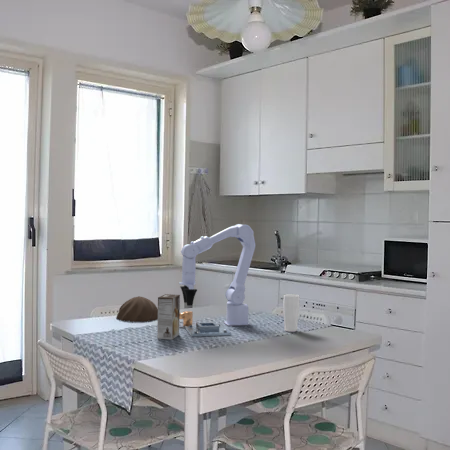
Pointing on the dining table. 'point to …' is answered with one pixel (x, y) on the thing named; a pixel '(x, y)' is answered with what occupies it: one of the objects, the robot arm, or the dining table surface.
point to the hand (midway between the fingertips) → (188, 303)
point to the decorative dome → (138, 310)
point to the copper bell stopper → (186, 318)
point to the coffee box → (168, 316)
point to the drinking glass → (291, 311)
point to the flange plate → (207, 329)
